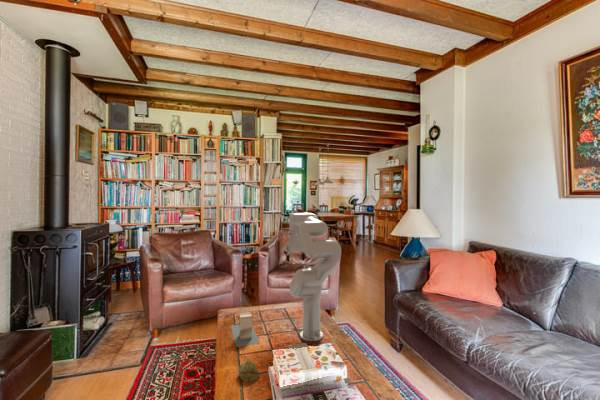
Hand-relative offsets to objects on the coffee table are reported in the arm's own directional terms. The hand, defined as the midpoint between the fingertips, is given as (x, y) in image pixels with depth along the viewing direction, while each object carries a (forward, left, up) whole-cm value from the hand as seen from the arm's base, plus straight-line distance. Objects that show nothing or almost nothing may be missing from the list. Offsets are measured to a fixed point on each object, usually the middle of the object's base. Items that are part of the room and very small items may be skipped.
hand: (295, 260), depth 178 cm
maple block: (-13, +33, -36) cm, 50 cm away
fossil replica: (-43, +15, -37) cm, 58 cm away
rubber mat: (-9, +33, -36) cm, 50 cm away
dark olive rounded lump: (-47, +37, -37) cm, 70 cm away
